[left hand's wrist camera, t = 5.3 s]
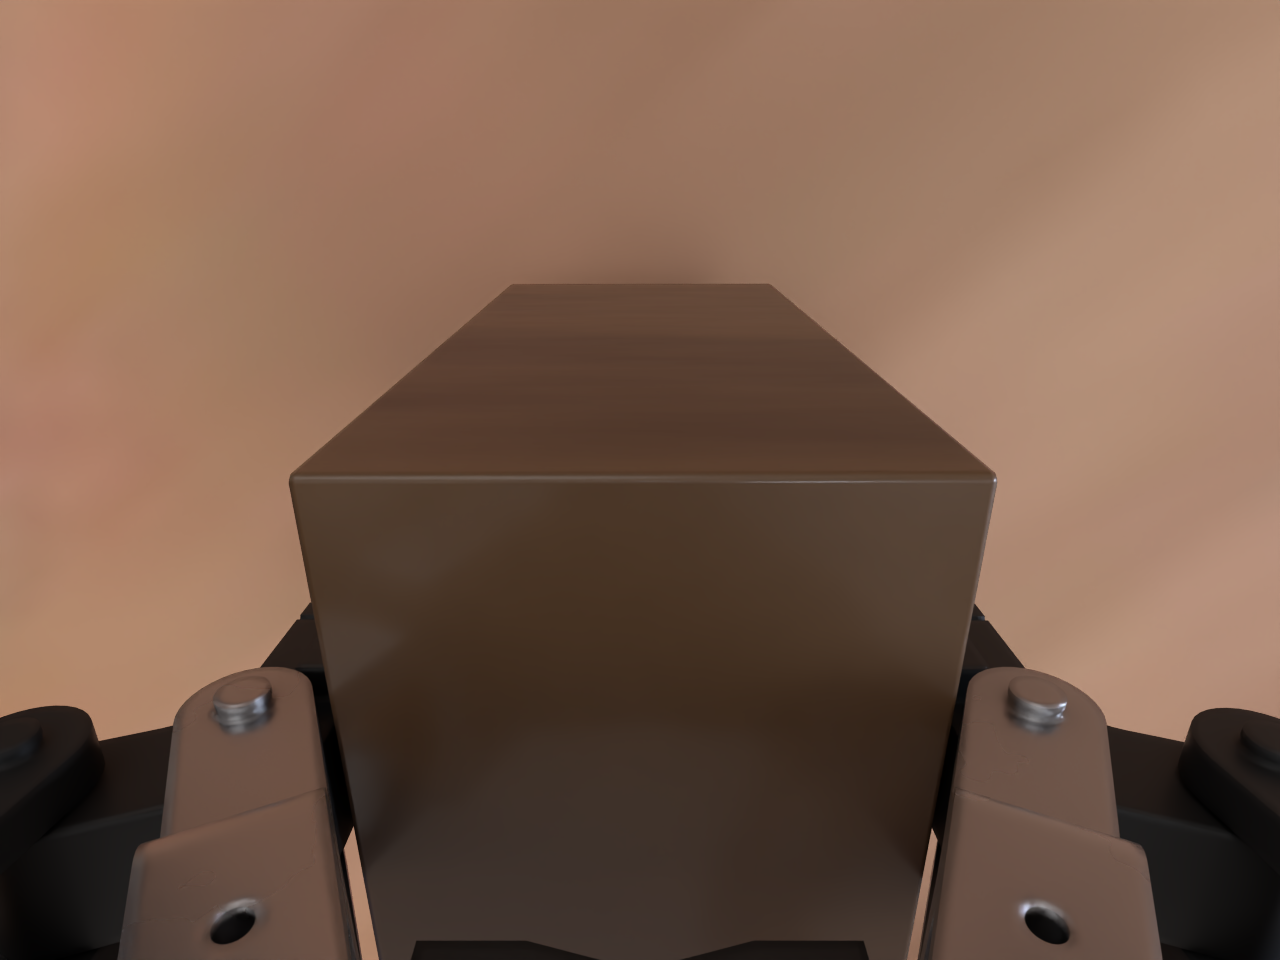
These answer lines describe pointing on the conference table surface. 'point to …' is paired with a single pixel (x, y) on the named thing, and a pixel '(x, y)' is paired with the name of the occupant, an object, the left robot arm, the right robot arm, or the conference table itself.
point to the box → (642, 627)
